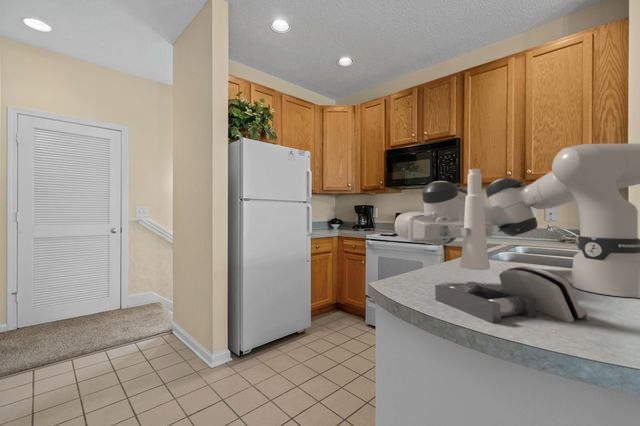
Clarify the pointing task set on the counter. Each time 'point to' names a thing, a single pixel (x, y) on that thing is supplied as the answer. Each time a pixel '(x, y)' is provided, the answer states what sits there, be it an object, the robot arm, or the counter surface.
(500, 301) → the grey hollow rectangular frame
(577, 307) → the grey curved wedge
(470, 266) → the cosmetic bottle
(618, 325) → the counter surface
